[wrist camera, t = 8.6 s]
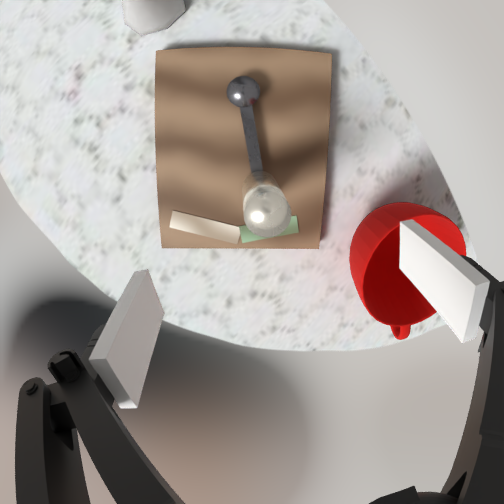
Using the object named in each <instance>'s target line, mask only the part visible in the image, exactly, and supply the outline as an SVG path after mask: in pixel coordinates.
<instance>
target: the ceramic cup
mask: <svg viewBox="0 0 504 504" xmlns="http://www.w3.org/2000/svg"><path fill="white" fill-rule="evenodd" d="M411 219H413V220H414V221H415V222H417V223H418V224H419V225H421V226H422V227H424V228H425V229H426V230H428V231H429V232H430V233H432V234H433V235H434V236H436V237H437V238H438V239H439V240H441V241H442V242H443V243H445V244H446V245H447V246H448V247H450V248H451V249H452V250H453V251H455V252H456V253H457V254H458V255H464V256H466V246H465V241H464V238H463V235H462V233H461V232H460V230H459V228H458V227H457V225H456V224H454V223H453V222H452V221H451V220H450V219H449V218H448V217H446V216H444V215H442V214H440V213H438V212H436V211H434V210H432V209H430V208H428V207H425V206H422V205H418V204H413V203H408V202H397V203H391V204H387V205H384V206H382V207H379V208H377V209H375V210H374V211H373V212H371V213H370V214H368V215H367V216H366V217H365V218H364V219H363V220H362V222H361V223H360V225H359V226H358V228H357V229H356V232H355V234H354V236H353V239H352V242H351V246H350V257H349V261H350V269H351V274H352V278H353V281H354V283H355V286H356V289H357V292H358V294H359V296H360V298H361V300H362V302H363V304H364V306H365V307H366V309H367V310H368V312H369V314H370V315H371V316H373V317H374V318H375V319H376V320H377V321H379V322H381V323H383V324H386V325H390V326H391V329H392V332H393V334H394V336H395V338H397V339H399V340H402V339H405V338H407V337H408V336H409V334H410V329H411V325H413V324H416V323H418V322H421V321H423V320H425V319H427V318H429V317H430V316H432V315H433V314H435V313H436V312H437V311H436V310H435V309H434V308H433V306H432V305H431V304H430V303H429V302H428V300H427V299H426V298H425V297H424V296H423V294H422V293H421V292H420V291H419V290H418V289H417V288H416V286H415V285H414V284H413V283H412V282H411V281H410V280H409V278H408V277H407V276H406V275H405V274H404V273H403V272H402V271H401V269H400V268H399V264H400V221H406V220H411Z"/></svg>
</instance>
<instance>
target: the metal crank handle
mask: <svg viewBox="0 0 504 504" xmlns="http://www.w3.org/2000/svg"><path fill="white" fill-rule="evenodd" d="M259 96H260V87H259V85H258V83H257V82H256V81H255V80H254V79H253V78H251V77H248V76H239V77H236V78H234V79H233V80H232V81H231V82H230V83H229V84H228V87H227V97H228V99H229V101H230V102H231V103H232V104H233V105H235V106H237V107H240V112H241V118H242V123H243V129H244V135H245V140H246V146H247V152H248V158H249V163H250V169H251V174H249V175H248V176H247V177H246V178H245V180H244V182H243V185H242V195H243V211H244V221H245V224H246V226H247V227H248V229H249V230H250V231H251V232H252V233H254V234H255V235H258V236H261V237H274V236H277V235H279V234H280V233H282V232H283V231H284V230H285V229H286V228H287V227H288V225H289V223H290V220H291V208H290V205H289V203H288V202H287V200H286V198H285V196H284V194H283V193H282V191H281V189H280V187H279V185H278V184H277V182H276V180H275V178H274V177H273V176H272V175H271V174H269V173H267V172H264V171H263V168H262V162H261V155H260V149H259V143H258V138H257V132H256V126H255V120H254V114H253V108H252V105H253V104H254V103H255V102H256V101H257V100H258V98H259Z"/></svg>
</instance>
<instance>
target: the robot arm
mask: <svg viewBox="0 0 504 504" xmlns="http://www.w3.org/2000/svg"><path fill="white" fill-rule="evenodd" d="M399 268H400V269H401V271H402V272H403V273H404V274H405V275H406V276H407V277H408V278H409V280H410V281H411V282H412V283H413V284H414V285H415V286H416V288H417V289H418V290H419V291H420V292H421V293H422V294H423V296H424V297H425V298H426V299H427V300H428V302H429V303H430V304H431V305H432V306H433V308H434V309H435V310H436V311H437V312H438V314H439V315H440V316H441V317H442V318H443V320H444V321H445V322H446V323H447V325H448V326H449V327H450V328H451V330H452V331H453V332H454V333H455V335H456V336H457V337H458V339H459V340H460V341H461V342H462V343H464V342H467V341H469V340H472V339H474V338H476V336H477V332H478V329H479V326H480V327H481V328H482V329H483V331H484V334H483V337H482V340H481V344H480V346H479V349H478V352H480V357H479V364H478V370H477V376H476V381H475V386H474V391H473V396H472V400H471V405H470V409H469V413H468V417H467V421H466V425H465V429H464V432H463V436H462V440H461V443H460V446H459V449H458V452H457V455H456V458H455V461H454V464H453V467H452V470H451V473H450V475H449V477H448V479H447V481H446V483H445V485H444V487H443V489H442V491H441V493H437V492H417V491H416V489H415V486H412V487H409V488H407V489H404V490H401V491H398V492H395V493H392V494H389V495H386V496H383V497H380V498H378V499H376V500H375V501H373V502H371V503H369V504H504V281H503V282H499V281H498V280H497V279H495V278H494V277H493V276H492V275H491V274H490V273H488V272H487V271H486V270H484V269H483V268H482V267H481V266H480V265H478V263H476V262H475V261H474V260H473V259H471V258H469V257H467V256H464V255H458V254H457V253H456V252H455V251H453V250H452V249H451V248H450V247H448V246H447V245H446V244H445V243H443V242H442V241H441V240H439V239H438V238H437V237H436V236H434V235H433V234H432V233H430V232H429V231H428V230H426V229H425V228H424V227H422V226H421V225H419V224H418V223H417V222H415V221H414V220H413V219H411V220H406V221H400V264H399ZM163 316H164V311H163V308H162V306H161V303H160V300H159V298H158V295H157V293H156V290H155V287H154V285H153V282H152V279H151V276H150V274H149V271H148V269H147V270H141V271H136V272H134V274H133V276H132V277H131V279H130V281H129V283H128V285H127V286H126V288H125V290H124V292H123V294H122V295H121V297H120V299H119V301H118V303H117V305H116V307H115V308H114V310H113V312H112V314H111V316H110V318H109V320H108V322H107V324H103V325H101V326H100V327H99V328H98V329H97V330H96V331H95V332H94V334H93V336H92V337H91V341H89V343H88V345H87V347H86V349H85V351H84V353H83V355H82V356H81V358H79V357H78V355H77V353H76V352H75V351H74V350H72V349H65V350H62V351H60V352H58V353H57V354H55V355H54V356H53V357H52V358H51V359H50V361H49V363H48V369H49V371H50V372H51V374H52V375H53V376H54V378H55V379H56V381H57V383H53V384H50V385H46V384H45V383H44V381H43V380H42V379H41V378H37V377H36V378H32V379H30V380H28V381H26V382H25V383H24V384H23V386H22V387H21V389H20V392H19V400H18V410H17V423H16V442H15V482H16V500H17V504H90V500H89V495H88V491H87V486H86V481H85V476H84V471H83V466H82V461H81V455H80V448H79V442H78V435H77V430H78V432H79V434H80V436H81V438H82V441H83V443H84V445H85V447H86V449H87V451H88V453H89V455H90V457H91V459H92V461H93V463H94V465H95V467H96V469H97V470H98V472H99V474H100V476H101V478H102V479H103V481H104V483H105V485H106V486H107V488H108V490H109V492H110V493H111V495H112V497H113V498H114V499H115V501H116V503H117V504H185V503H184V502H183V501H182V500H181V498H180V497H179V496H178V495H177V494H176V493H175V492H174V490H173V489H172V488H171V487H170V486H169V484H168V483H167V482H166V481H165V479H164V478H163V477H162V476H161V475H160V473H159V472H158V471H157V470H156V468H155V467H154V466H153V464H152V463H151V462H150V460H149V459H148V458H147V457H146V455H145V454H144V452H143V451H142V450H141V448H140V447H139V446H138V444H137V443H136V441H135V440H134V439H133V437H132V436H131V434H130V433H129V431H128V430H127V428H126V427H125V426H124V424H123V422H122V421H121V419H120V418H119V417H118V415H117V413H116V412H115V410H114V409H113V408H112V405H113V402H114V399H115V401H116V402H117V404H118V405H119V406H120V408H137V407H138V403H139V399H140V396H141V392H142V388H143V384H144V380H145V377H146V374H147V370H148V366H149V363H150V359H151V356H152V353H153V349H154V346H155V342H156V339H157V336H158V332H159V329H160V326H161V323H162V319H163Z"/></svg>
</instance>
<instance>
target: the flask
mask: <svg viewBox="0 0 504 504" xmlns="http://www.w3.org/2000/svg"><path fill="white" fill-rule="evenodd" d="M122 6H123V15H124V22H125V24H126V25H127V26H129V27H130V28H131V29H133V30H134V31H136V32H137V33H138V34H140V35H141V36H143V35H147V34H150V33H153V32H157V31H160V30H164V29H167V28H168V27H169V26H170V25H171V24H172V23H173V22H174V21H175V20H176V19H177V18H178V17H179V16H181V15H182V14H183V13H184V12H185V11H186V9H185V4H184V0H122Z"/></svg>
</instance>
